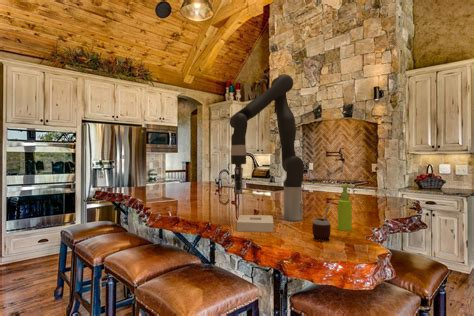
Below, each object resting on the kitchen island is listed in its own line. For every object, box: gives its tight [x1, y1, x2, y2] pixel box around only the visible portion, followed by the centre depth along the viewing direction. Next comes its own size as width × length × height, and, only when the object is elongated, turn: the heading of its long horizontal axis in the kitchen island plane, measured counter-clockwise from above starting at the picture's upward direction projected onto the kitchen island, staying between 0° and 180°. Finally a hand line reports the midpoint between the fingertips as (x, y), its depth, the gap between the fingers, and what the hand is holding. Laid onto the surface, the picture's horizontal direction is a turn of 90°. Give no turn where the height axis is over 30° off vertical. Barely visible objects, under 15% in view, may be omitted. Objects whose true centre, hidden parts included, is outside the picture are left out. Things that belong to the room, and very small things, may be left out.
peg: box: [234, 176, 243, 195], centre depth 145 cm, size 4×4×8 cm
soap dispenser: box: [337, 185, 355, 232], centre depth 133 cm, size 6×7×20 cm
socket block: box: [236, 214, 274, 233], centre depth 137 cm, size 16×16×4 cm
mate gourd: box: [311, 201, 333, 243], centre depth 118 cm, size 8×8×15 cm
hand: (238, 189), depth 145 cm, fingers closed on peg, 3 cm apart
